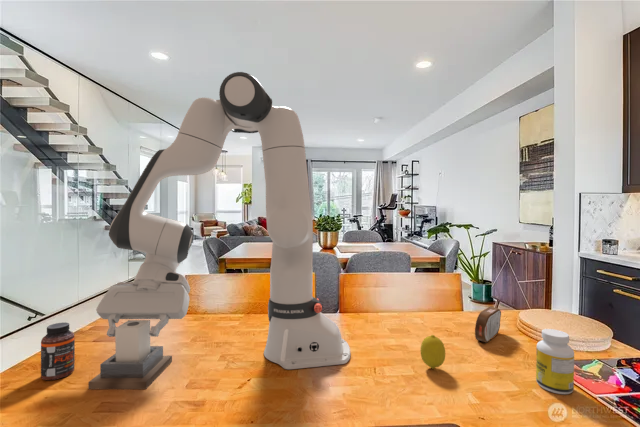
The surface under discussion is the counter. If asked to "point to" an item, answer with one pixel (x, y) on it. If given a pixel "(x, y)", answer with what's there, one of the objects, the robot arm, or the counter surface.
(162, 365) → the walnut jig board
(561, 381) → the pill bottle
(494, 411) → the counter surface
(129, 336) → the nylon bushing block
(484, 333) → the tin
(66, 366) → the supplement bottle
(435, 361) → the lemon
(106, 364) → the socket collar
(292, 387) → the counter surface
